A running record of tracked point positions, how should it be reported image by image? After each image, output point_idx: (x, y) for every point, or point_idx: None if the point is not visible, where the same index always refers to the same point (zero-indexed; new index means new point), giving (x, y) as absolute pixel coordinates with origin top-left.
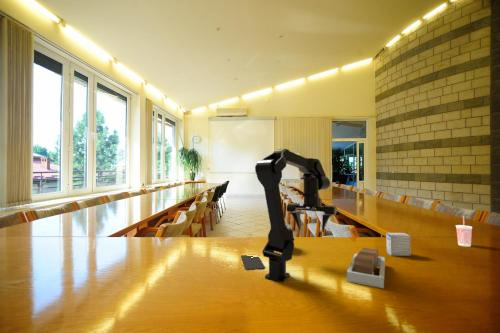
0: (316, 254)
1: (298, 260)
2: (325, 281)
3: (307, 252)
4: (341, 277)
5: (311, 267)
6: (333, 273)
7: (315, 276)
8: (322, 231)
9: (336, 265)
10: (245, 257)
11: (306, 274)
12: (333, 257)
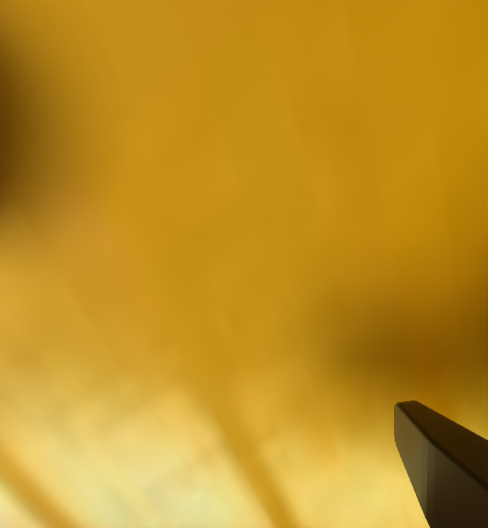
0: (157, 51)
1: (105, 308)
2: (388, 505)
3: (50, 40)
4: (457, 415)
5: (251, 378)
6: (404, 389)
7: (322, 482)
8: (400, 450)
9: (395, 241)
10: None
11: (268, 486)
12: (329, 46)
